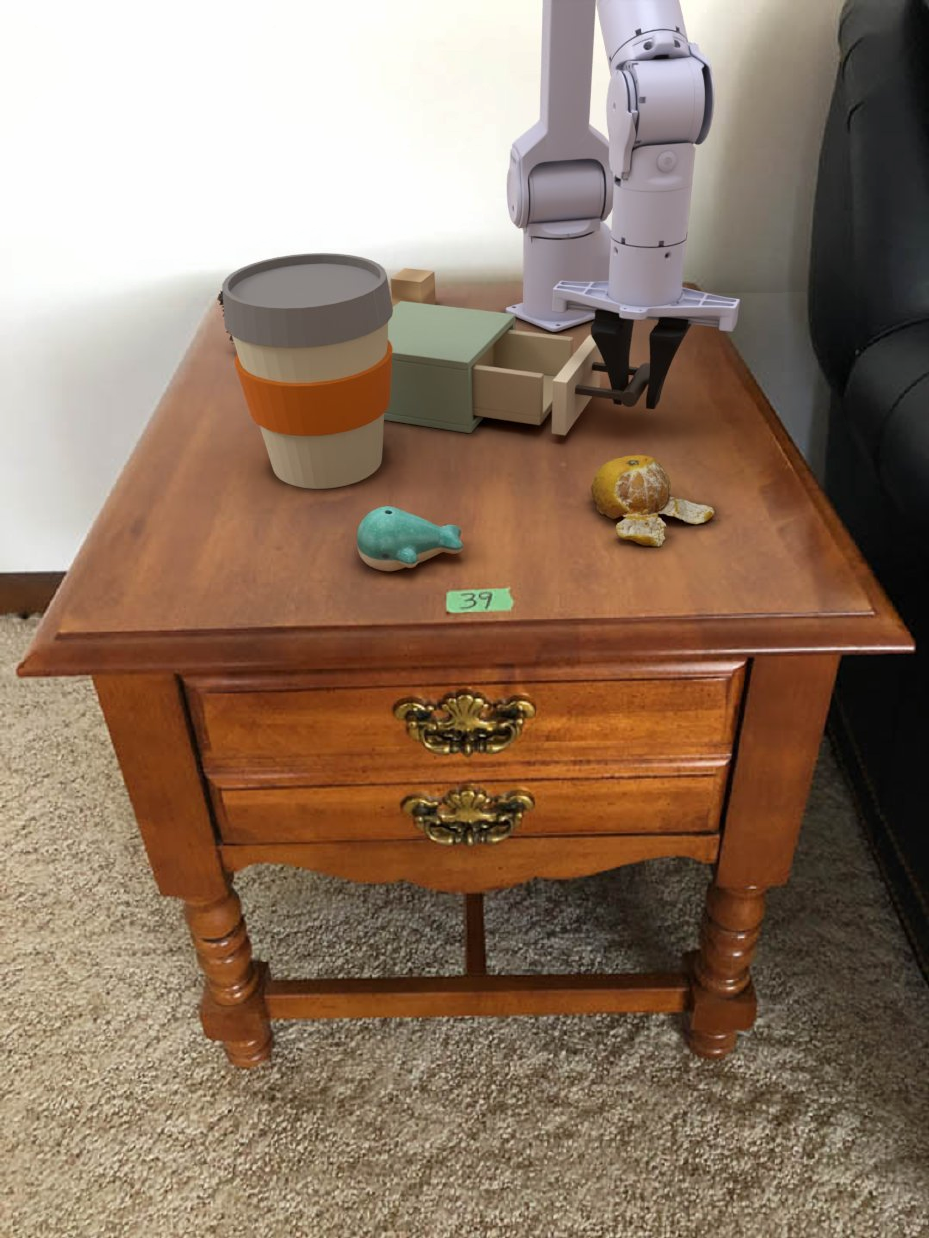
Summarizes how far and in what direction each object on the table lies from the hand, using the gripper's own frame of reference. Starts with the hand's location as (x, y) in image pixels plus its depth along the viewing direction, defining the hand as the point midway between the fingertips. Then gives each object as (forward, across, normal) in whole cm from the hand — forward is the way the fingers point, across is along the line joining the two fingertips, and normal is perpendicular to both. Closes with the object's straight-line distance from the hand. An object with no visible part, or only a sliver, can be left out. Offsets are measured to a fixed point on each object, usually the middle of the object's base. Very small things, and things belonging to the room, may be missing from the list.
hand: (636, 402), depth 86 cm
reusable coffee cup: (+2, -22, -14) cm, 26 cm away
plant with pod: (-2, -37, +4) cm, 37 cm away
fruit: (+2, +4, -14) cm, 15 cm away
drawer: (+1, -7, 0) cm, 7 cm away
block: (+2, -30, +20) cm, 36 cm away
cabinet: (+2, -18, 0) cm, 19 cm away
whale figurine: (+2, -10, -25) cm, 27 cm away
